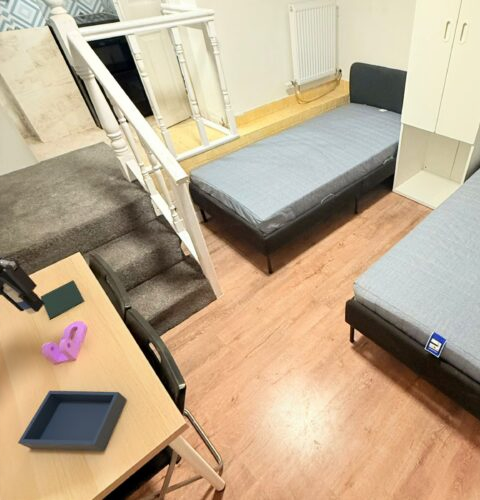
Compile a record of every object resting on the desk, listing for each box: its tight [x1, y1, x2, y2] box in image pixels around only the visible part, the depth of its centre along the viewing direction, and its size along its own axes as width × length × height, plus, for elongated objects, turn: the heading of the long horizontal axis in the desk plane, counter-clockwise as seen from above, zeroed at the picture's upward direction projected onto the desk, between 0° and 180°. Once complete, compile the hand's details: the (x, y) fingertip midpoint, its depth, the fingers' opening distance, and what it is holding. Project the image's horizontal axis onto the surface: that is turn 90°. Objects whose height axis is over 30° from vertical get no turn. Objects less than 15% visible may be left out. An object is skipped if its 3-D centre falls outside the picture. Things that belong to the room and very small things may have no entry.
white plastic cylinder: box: [3, 283, 37, 315], centre depth 83 cm, size 3×3×10 cm
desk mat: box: [40, 279, 85, 321], centre depth 108 cm, size 12×10×1 cm
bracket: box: [41, 320, 88, 365], centre depth 95 cm, size 13×6×7 cm, turn 13°
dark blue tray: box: [17, 390, 127, 452], centre depth 79 cm, size 18×12×5 cm, turn 88°
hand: (32, 307), depth 86 cm, fingers closed on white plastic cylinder, 3 cm apart
